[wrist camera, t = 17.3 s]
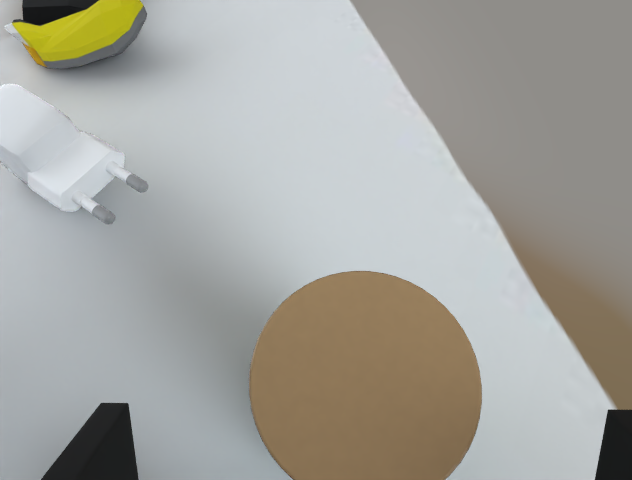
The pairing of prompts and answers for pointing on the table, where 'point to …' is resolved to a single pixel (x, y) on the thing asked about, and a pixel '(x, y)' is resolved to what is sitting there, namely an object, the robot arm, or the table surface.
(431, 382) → the canister
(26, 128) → the power adapter
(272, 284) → the table surface
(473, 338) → the table surface
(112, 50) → the black and yellow shoe
